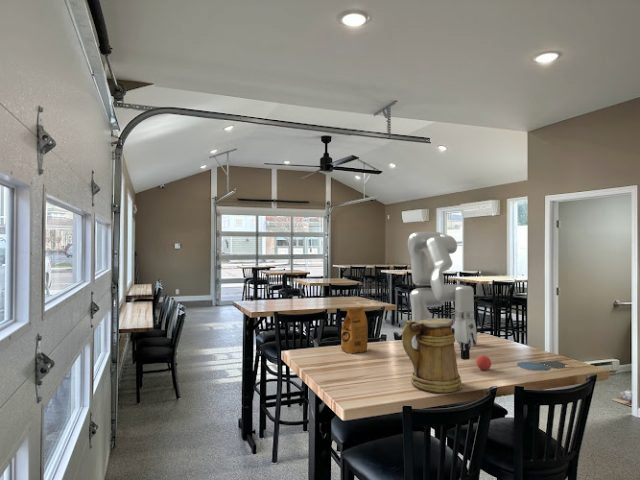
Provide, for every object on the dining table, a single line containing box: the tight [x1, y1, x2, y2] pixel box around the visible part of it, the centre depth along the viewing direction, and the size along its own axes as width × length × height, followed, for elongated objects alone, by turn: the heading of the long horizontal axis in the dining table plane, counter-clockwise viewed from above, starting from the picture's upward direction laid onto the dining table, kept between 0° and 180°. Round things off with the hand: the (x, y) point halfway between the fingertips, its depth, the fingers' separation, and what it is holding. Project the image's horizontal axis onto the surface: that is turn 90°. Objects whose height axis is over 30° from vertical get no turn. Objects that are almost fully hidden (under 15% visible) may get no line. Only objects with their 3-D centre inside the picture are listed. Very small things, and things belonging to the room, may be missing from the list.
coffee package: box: [340, 305, 369, 355], centre depth 211 cm, size 10×12×22 cm
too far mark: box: [539, 360, 569, 369], centre depth 188 cm, size 10×10×1 cm
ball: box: [475, 355, 492, 371], centre depth 180 cm, size 6×6×6 cm
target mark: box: [516, 361, 551, 371], centre depth 186 cm, size 13×13×1 cm
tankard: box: [401, 317, 463, 394], centre depth 158 cm, size 18×24×25 cm
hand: (465, 359), depth 177 cm, fingers closed
